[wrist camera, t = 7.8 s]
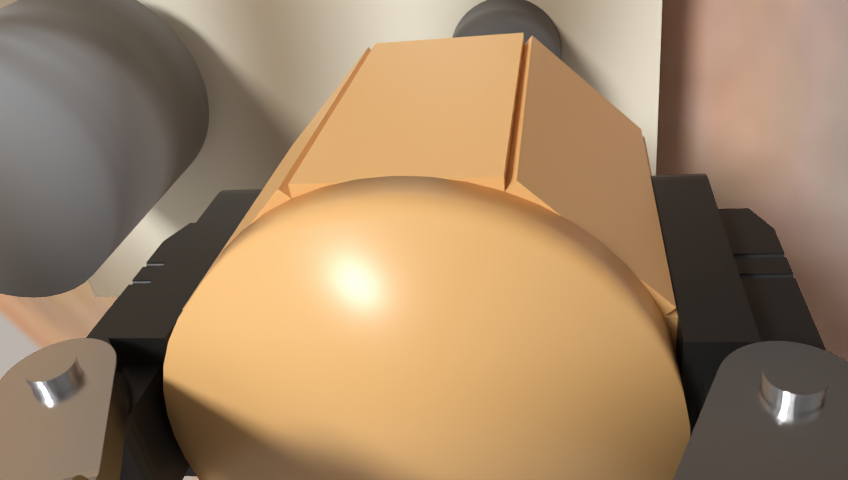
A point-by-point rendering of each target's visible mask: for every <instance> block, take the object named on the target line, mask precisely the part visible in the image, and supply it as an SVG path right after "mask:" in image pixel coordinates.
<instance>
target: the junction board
mask: <svg viewBox="0 0 848 480" xmlns="http://www.w3.org/2000/svg"><path fill="white" fill-rule="evenodd" d="M661 23H662V0H0V293H1V294H6V295H12V296H18V297H47V296H52V295H57V294H62V293H64V292H67V291H70V290H72V289H74V288H76V287H78V286H80V285H81V284H83V283H84V282H86V281H87V280H88V281H89V284H90V286H91V288H92V290H93V293H94V295H95V297H114V296H120V295H121V293H122V292H123V291H124V290H125V288H126V287H127V286H128V285H129V284H132V283H133V281H132V280H133V278H134V277H135V276H136V275H137V273H138V272H139V271H140V270H141V268H142V267H146V262H147V261H148V260H149V258H150V257H151V256H152V255H153V253H154V252H155V251H156V250H157V248H158V247H159V246H160V245H161V243H162V242H163V241H165V240H166V239H167V238H169V237H170V236H172V235H173V234H175V233H176V232H178V231H179V230H181V229H182V228H183V227H185V226H186V225H188V224H189V223H196V222H197V221H198V219H199V218H200V217H201V215H202V214H203V213H204V211H205V210H206V209H207V207H208V206H209V205H210V203H211V202H212V201H213V200H214V198H215V197H216V196H217V194H218V193H219V192H221V191H223V190H244V189H263V188H264V187H265V185H266V184H267V182H268V181H269V179H270V178H271V176H272V175H273V173H274V172H275V170H276V169H277V167H278V166H279V164H280V163H281V161H282V160H283V158H284V157H285V155H286V154H287V152H288V151H289V149H290V148H291V146H292V145H293V144H294V142H295V141H296V140H297V139H298V137H299V136H300V135H301V133H302V132H303V131H304V130H305V128H306V127H307V126H308V124H309V123H310V122H311V120H312V119H313V118H314V117H315V115H316V114H317V113H318V111H319V110H320V109H321V108H322V106H323V105H324V104H325V102H326V101H327V100H328V99H329V97H330V96H331V95H332V93H333V92H334V91H335V89H336V88H337V87H338V86H339V84H340V83H341V82H342V80H343V79H344V78H345V77H346V75H347V74H348V73H349V71H350V70H351V69H352V68H353V66H354V65H355V64H356V62H357V61H358V60H359V58H360V57H361V56H362V55H363V53H364V52H365V51H366V49H367V48H368V47H369V48H370V49H371V50H372V48H373V47H374V45H375V44H376V43H387V42H400V41H414V40H428V39H442V38H456V37H469V36H483V35H497V34H511V33H524V44H525V43H526V42H527V41H528V40H529V38H530V37H531V36H534V37H535V38H536V39H537V40H538V41H539V42H541V43H542V44H543V45H544V46H545V47H546V48H548V49H549V50H550V51H551V52H552V53H553V54H554V55H556V56H557V57H558V58H559V59H560V60H561V61H563V62H564V63H565V64H566V65H567V66H568V67H570V68H571V69H572V70H573V71H574V72H575V73H577V74H578V75H579V76H580V77H581V78H582V79H584V80H585V81H586V82H587V83H588V84H589V85H590V86H592V87H593V88H594V89H595V90H596V91H597V92H599V93H600V94H601V95H602V96H603V97H604V98H606V99H607V100H608V101H609V102H610V103H611V104H613V105H614V106H615V107H616V108H617V109H618V110H619V111H621V112H622V113H623V114H624V115H625V116H626V117H628V118H629V119H630V120H631V121H632V122H633V123H635V124H636V125H637V126H638V127H639V128H640V129H641V131H642V136H644V137H645V142H646V147H647V152H648V157H649V162H650V167H651V172H652V176H655V175H656V157H657V131H658V104H659V77H660V50H661Z"/></svg>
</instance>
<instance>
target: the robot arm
mask: <svg viewBox="0 0 848 480" xmlns="http://www.w3.org/2000/svg"><path fill="white" fill-rule="evenodd" d="M650 177H651V182H652V187H653V192H654V197H655V202H656V207H657V212H658V217H659V223H660V228H661V233H662V238H663V243H664V248H665V253H666V258H667V263H668V268H669V273H670V278H671V283H672V289H673V294H674V299H675V304H676V310H677V315H678V322H677V337H676V354H677V359H678V365H679V370H680V376H681V381H682V386H683V391H684V396H685V401H686V406H687V412H688V417H689V422H690V439H689V442H688V444H687V447H686V449H685V452H684V454H683V457H682V459H681V461H680V464H679V466H678V469H677V471H676V474H675V476H674V479H673V480H848V362H846V361H845V360H843V359H842V358H840V357H838V356H836V355H834V354H832V353H830V352H828V351H826V349H825V347H824V345H823V342H822V340H821V338H820V335H819V333H818V331H817V328H816V326H815V324H814V321H813V319H812V317H811V314H810V312H809V310H808V307H807V305H806V303H805V300H804V298H803V296H802V293H801V291H800V289H799V286H798V284H797V282H796V279H795V278H793V272H792V270H791V268H790V265H789V263H788V261H787V258H784V251H783V249H782V247H781V244H780V242H779V240H778V237H777V235H776V233H775V230H774V228H772V227H771V226H770V225H769V224H767V223H766V222H765V221H763V220H762V219H761V218H760V217H758V216H757V215H756V214H755V213H753V212H752V211H751V210H750V209H748V208H743V209H718V208H717V205H716V202H715V199H714V195H713V192H712V189H711V186H710V183H709V180H708V177H707V175H706V174H683V175H655V176H650ZM262 190H263V189H244V190H223V191H221V192H219V193H218V194H217V196H216V197H215V198H214V200H213V201H212V202H211V203H210V205H209V206H208V207H207V209H206V210H205V211H204V213H203V214H202V215H201V217H200V218H199V219H198V221H197V222H196V223H189V224H188V225H186V226H185V227H183V228H182V229H181V230H179V231H178V232H176V233H175V234H173V235H172V236H170V237H169V238H167V239H166V240H165V241H163V242H162V243H161V245H160V246H159V247H158V248H157V250H156V251H155V252H154V253H153V255H152V256H151V257H150V258H149V260H148V261H147V262H146V267H142V268H141V270H140V271H139V272H138V273H137V275H136V276H135V277H134V278H133V280H132V281H133V283H132V284H129V285H128V286H127V287H126V288H125V290H124V291H123V292H122V293H121V295H120V296H119V297H118V298H117V300H116V301H115V302H114V303H113V305H112V306H111V307H110V308H109V310H108V311H107V312H106V313H105V315H104V316H103V317H102V318H101V320H100V321H99V322H98V324H97V325H96V326H95V327H94V329H93V330H92V331H91V332H90V334H89V335H88V336H87V337H86V338H79V339H71V340H66V341H62V342H59V343H55V344H52V345H50V346H47V347H45V348H42V349H40V350H38V351H36V352H34V353H32V354H31V355H29V356H27V357H26V358H24V359H23V360H21V361H20V362H18V363H17V364H16V365H14V366H13V367H12V368H11V369H10V370H9V371H8V372H7V373H6V374H5V375H4V376H3V377H2V378H1V380H0V480H183V478H184V476H197V475H196V474H195V472H194V471H193V469H192V468H191V466H190V465H189V463H188V462H187V460H186V459H185V457H184V455H183V453H182V451H181V449H180V447H179V445H178V442H177V440H176V438H175V436H174V433H173V430H172V427H171V424H170V421H169V418H168V415H167V411H166V404H165V398H164V392H163V366H164V361H165V356H166V351H167V346H168V341H169V339H170V336H171V334H172V332H173V329H174V327H175V324H176V322H177V319H178V318H179V316H180V315H181V313H182V311H183V310H182V309H183V308H184V306H185V305H186V303H187V302H188V300H189V299H190V297H191V296H192V294H193V293H194V291H195V290H196V288H197V287H198V285H199V284H200V282H201V281H202V279H203V278H204V276H205V275H206V273H207V272H208V270H209V269H210V267H211V266H212V264H213V263H214V261H215V260H216V258H217V257H218V255H219V254H220V252H221V251H222V249H223V248H224V246H225V245H226V243H227V242H228V240H229V239H230V237H231V236H232V235H233V233H234V232H235V230H236V229H237V227H238V226H239V224H240V223H241V221H242V220H243V218H244V217H245V215H246V214H247V212H248V211H249V209H250V208H251V206H252V205H253V203H254V202H255V200H256V199H257V197H258V196H259V194H260V193H261V191H262Z"/></svg>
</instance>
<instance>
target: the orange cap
mask: <svg viewBox="0 0 848 480" xmlns="http://www.w3.org/2000/svg"><path fill="white" fill-rule="evenodd" d="M650 176H652V172H651V167H650V162H649V157H648V152H647V147H646V142H645V137H644V136H642V131H641V129H640V128H639V127H638V126H637V125H636V124H635V123H633V122H632V121H631V120H630V119H629V118H628V117H626V116H625V115H624V114H623V113H622V112H621V111H619V110H618V109H617V108H616V107H615V106H614V105H613V104H611V103H610V102H609V101H608V100H607V99H606V98H604V97H603V96H602V95H601V94H600V93H599V92H597V91H596V90H595V89H594V88H593V87H592V86H590V85H589V84H588V83H587V82H586V81H585V80H584V79H582V78H581V77H580V76H579V75H578V74H577V73H575V72H574V71H573V70H572V69H571V68H570V67H568V66H567V65H566V64H565V63H564V62H563V61H561V60H560V59H559V58H558V57H557V56H556V55H554V54H553V53H552V52H551V51H550V50H549V49H548V48H546V47H545V46H544V45H543V44H542V43H541V42H539V41H538V40H537V39H536V38H535V37H534V36H531V37H530V38H529V40H528V41H527V42H526V43H525V44H524V33H511V34H497V35H483V36H469V37H456V38H442V39H428V40H414V41H400V42H387V43H376V44H375V45H374V47H373V48H372V50H371V49H370V48H369V47H368V48H367V49H366V51H365V52H364V53H363V55H362V56H361V57H360V58H359V60H358V61H357V62H356V64H355V65H354V66H353V68H352V69H351V70H350V71H349V73H348V74H347V75H346V77H345V78H344V79H343V80H342V82H341V83H340V84H339V86H338V87H337V88H336V89H335V91H334V92H333V93H332V95H331V96H330V97H329V99H328V100H327V101H326V102H325V104H324V105H323V106H322V108H321V109H320V110H319V111H318V113H317V114H316V115H315V117H314V118H313V119H312V120H311V122H310V123H309V124H308V126H307V127H306V128H305V130H304V131H303V132H302V133H301V135H300V136H299V137H298V139H297V140H296V141H295V142H294V144H293V145H292V146H291V148H290V149H289V151H288V152H287V154H286V155H285V157H284V158H283V160H282V161H281V163H280V164H279V166H278V167H277V169H276V170H275V172H274V173H273V175H272V176H271V178H270V179H269V181H268V182H267V184H266V185H265V187H264V188H263V190H262V191H261V193H260V194H259V196H258V197H257V199H256V200H255V202H254V203H253V205H252V206H251V208H250V209H249V211H248V212H247V214H246V215H245V217H244V218H243V220H242V221H241V223H240V224H239V226H238V227H237V229H236V230H235V232H234V233H233V235H232V236H231V237H230V239H229V240H228V242H227V243H226V245H225V246H224V248H223V249H222V251H221V252H220V254H219V255H218V257H217V258H216V260H215V261H214V263H213V264H212V266H211V267H210V269H209V270H208V272H207V273H206V275H205V276H204V278H203V279H202V281H201V282H200V284H199V285H198V287H197V288H196V290H195V291H194V293H193V294H192V296H191V297H190V299H189V300H188V302H187V303H186V305H185V306H184V308H183V309H182V310H183V311H182V313H181V315H180V316H179V318H178V319H177V322H176V324H175V327H174V329H173V332H172V334H171V336H170V339H169V341H168V346H167V351H166V356H165V361H164V366H163V392H164V398H165V404H166V411H167V415H168V418H169V421H170V424H171V427H172V430H173V433H174V436H175V438H176V440H177V442H178V445H179V447H180V449H181V451H182V453H183V455H184V457H185V459H186V460H187V462H188V463H189V465H190V466H191V468H192V469H193V471H194V472H195V474H196V475H197V477H198V478H199V480H673V479H674V476H675V474H676V471H677V469H678V466H679V464H680V461H681V459H682V457H683V454H684V452H685V449H686V447H687V444H688V442H689V439H690V422H689V417H688V412H687V406H686V401H685V396H684V391H683V386H682V381H681V376H680V370H679V365H678V359H677V354H676V337H677V322H678V315H677V310H676V304H675V299H674V294H673V289H672V283H671V278H670V273H669V268H668V263H667V258H666V253H665V248H664V243H663V238H662V233H661V228H660V223H659V217H658V212H657V207H656V202H655V197H654V192H653V187H652V182H651V177H650Z"/></svg>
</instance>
